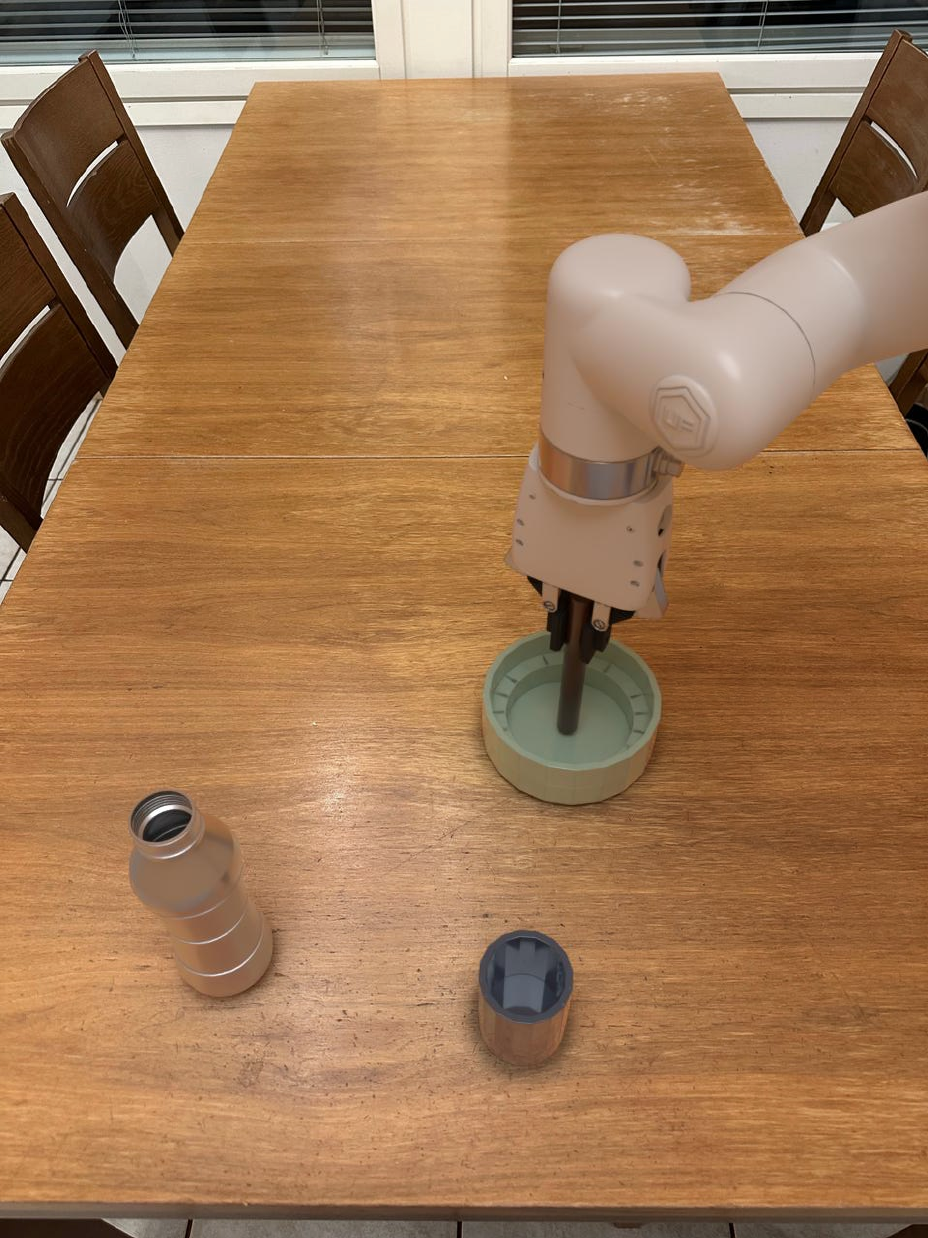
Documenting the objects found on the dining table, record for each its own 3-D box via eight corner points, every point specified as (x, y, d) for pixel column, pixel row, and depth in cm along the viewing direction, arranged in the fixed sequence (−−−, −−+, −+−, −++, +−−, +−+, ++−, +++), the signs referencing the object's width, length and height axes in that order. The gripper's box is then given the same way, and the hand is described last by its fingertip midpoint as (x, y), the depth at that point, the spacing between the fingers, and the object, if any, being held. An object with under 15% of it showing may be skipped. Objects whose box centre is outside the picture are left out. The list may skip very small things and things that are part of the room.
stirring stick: (581, 721, 79) (599, 589, 67) (572, 737, 78) (589, 606, 66) (561, 713, 80) (576, 581, 68) (552, 728, 79) (566, 597, 67)
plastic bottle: (189, 921, 69) (110, 770, 54) (282, 914, 69) (228, 763, 55) (177, 1010, 65) (87, 873, 50) (276, 1003, 65) (216, 865, 50)
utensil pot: (578, 1003, 65) (588, 956, 59) (542, 1083, 61) (548, 1041, 56) (503, 963, 67) (505, 914, 61) (464, 1039, 63) (462, 994, 57)
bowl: (676, 705, 82) (686, 665, 78) (613, 836, 73) (620, 798, 69) (528, 647, 86) (530, 606, 82) (453, 763, 78) (451, 724, 74)
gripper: (745, 451, 57) (693, 648, 71) (511, 382, 62) (505, 578, 76) (704, 526, 53) (658, 720, 66) (456, 445, 58) (461, 640, 72)
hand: (576, 643), depth 71 cm, fingers closed on stirring stick, 1 cm apart
